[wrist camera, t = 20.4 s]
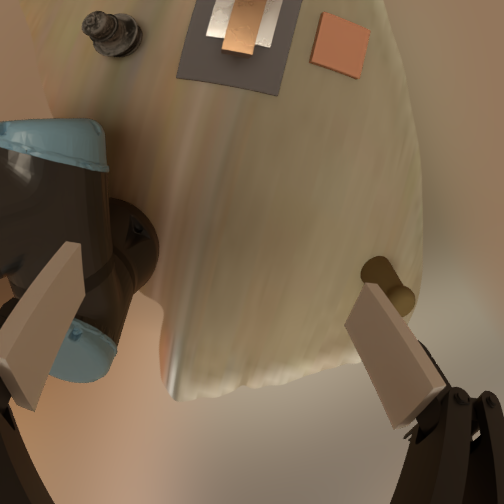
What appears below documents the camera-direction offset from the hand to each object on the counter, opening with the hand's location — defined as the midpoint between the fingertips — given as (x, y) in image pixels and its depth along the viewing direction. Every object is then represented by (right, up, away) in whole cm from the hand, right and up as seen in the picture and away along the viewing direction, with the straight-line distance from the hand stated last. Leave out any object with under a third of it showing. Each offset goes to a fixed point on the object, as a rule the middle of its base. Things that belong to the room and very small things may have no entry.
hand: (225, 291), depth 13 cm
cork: (+23, -2, +37) cm, 44 cm away
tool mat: (0, +32, +15) cm, 36 cm away
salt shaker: (-15, +29, +15) cm, 36 cm away
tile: (+12, +26, +20) cm, 35 cm away
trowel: (0, +32, +15) cm, 35 cm away
